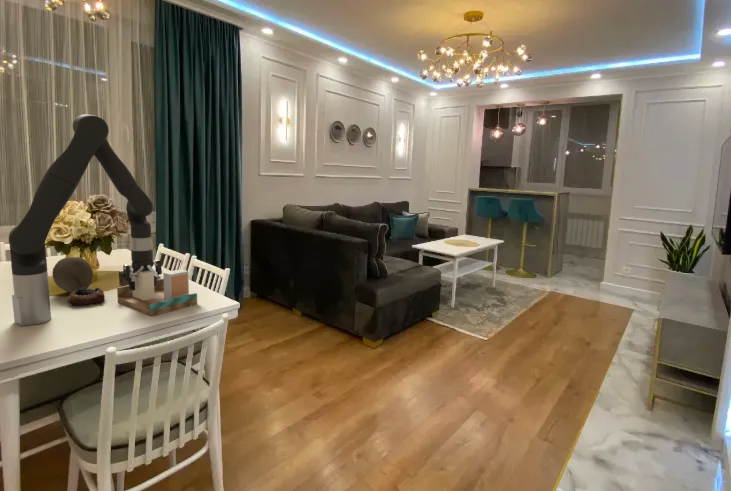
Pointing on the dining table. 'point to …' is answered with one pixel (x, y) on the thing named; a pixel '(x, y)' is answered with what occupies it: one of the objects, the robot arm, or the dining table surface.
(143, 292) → the tea box
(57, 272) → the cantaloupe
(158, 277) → the dark brown box
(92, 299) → the pastry
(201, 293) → the dining table surface
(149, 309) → the wooden tray
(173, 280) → the faced tea box
